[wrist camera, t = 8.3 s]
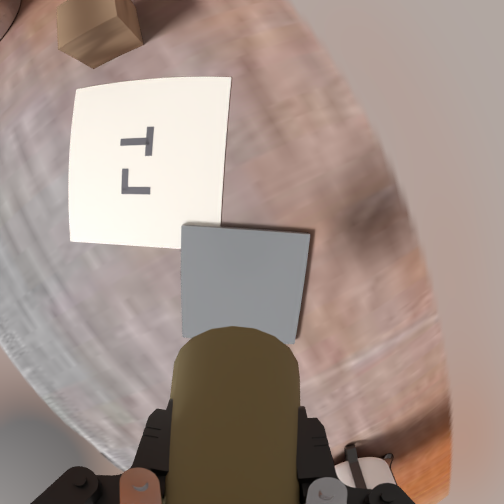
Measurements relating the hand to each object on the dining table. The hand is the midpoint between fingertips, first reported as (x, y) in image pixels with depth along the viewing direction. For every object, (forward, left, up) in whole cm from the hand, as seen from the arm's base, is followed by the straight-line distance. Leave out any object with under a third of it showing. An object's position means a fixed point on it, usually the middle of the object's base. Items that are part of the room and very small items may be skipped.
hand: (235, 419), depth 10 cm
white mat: (-9, +10, -14) cm, 20 cm away
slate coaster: (0, 0, -14) cm, 14 cm away
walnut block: (-13, +22, -14) cm, 29 cm away
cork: (0, 0, -3) cm, 3 cm away
